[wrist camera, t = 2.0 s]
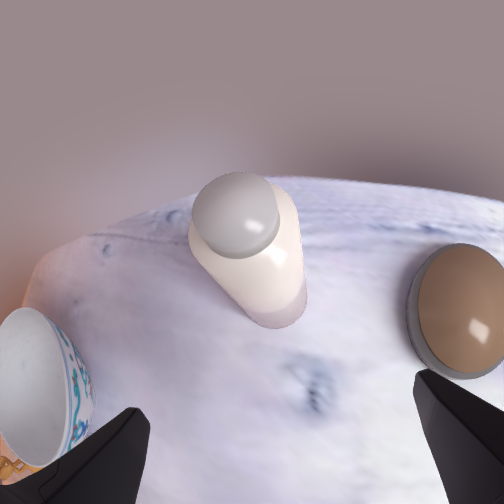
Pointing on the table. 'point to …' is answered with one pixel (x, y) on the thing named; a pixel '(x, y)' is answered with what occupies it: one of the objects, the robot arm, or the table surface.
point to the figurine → (13, 467)
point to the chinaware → (41, 389)
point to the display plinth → (458, 312)
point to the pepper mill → (251, 246)
